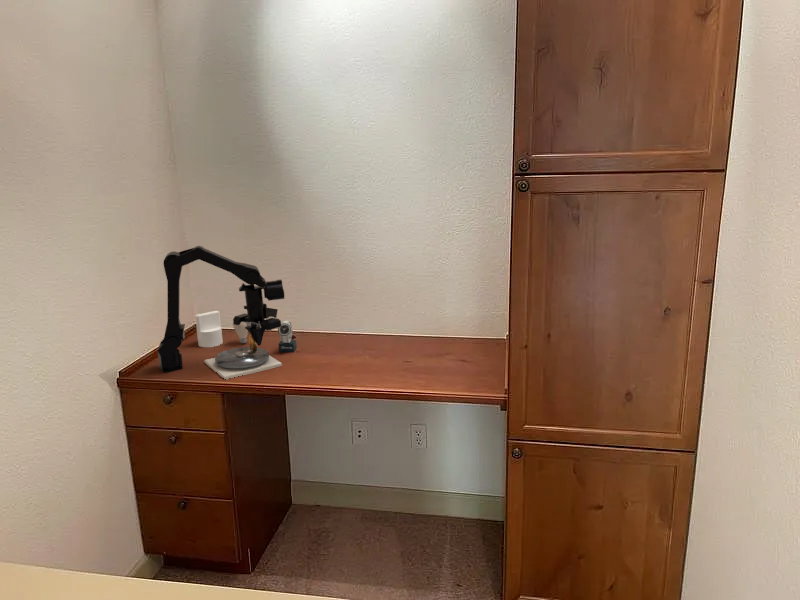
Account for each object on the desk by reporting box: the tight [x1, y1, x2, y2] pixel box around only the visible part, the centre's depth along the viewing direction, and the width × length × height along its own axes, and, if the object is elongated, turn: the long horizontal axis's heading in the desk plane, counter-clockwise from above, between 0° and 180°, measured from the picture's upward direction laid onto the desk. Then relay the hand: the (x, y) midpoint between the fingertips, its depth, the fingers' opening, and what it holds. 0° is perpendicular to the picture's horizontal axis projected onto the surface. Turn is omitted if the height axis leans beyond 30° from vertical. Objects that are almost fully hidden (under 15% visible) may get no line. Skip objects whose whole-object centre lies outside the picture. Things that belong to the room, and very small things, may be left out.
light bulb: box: [232, 322, 249, 344], centre depth 230 cm, size 7×7×11 cm
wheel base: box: [204, 354, 283, 380], centre depth 209 cm, size 20×20×2 cm
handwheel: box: [214, 334, 270, 369], centre depth 208 cm, size 18×18×6 cm
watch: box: [277, 320, 298, 353], centre depth 221 cm, size 6×8×11 cm
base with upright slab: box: [194, 310, 224, 348], centre depth 230 cm, size 9×9×12 cm
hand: (259, 345), depth 212 cm, fingers closed
